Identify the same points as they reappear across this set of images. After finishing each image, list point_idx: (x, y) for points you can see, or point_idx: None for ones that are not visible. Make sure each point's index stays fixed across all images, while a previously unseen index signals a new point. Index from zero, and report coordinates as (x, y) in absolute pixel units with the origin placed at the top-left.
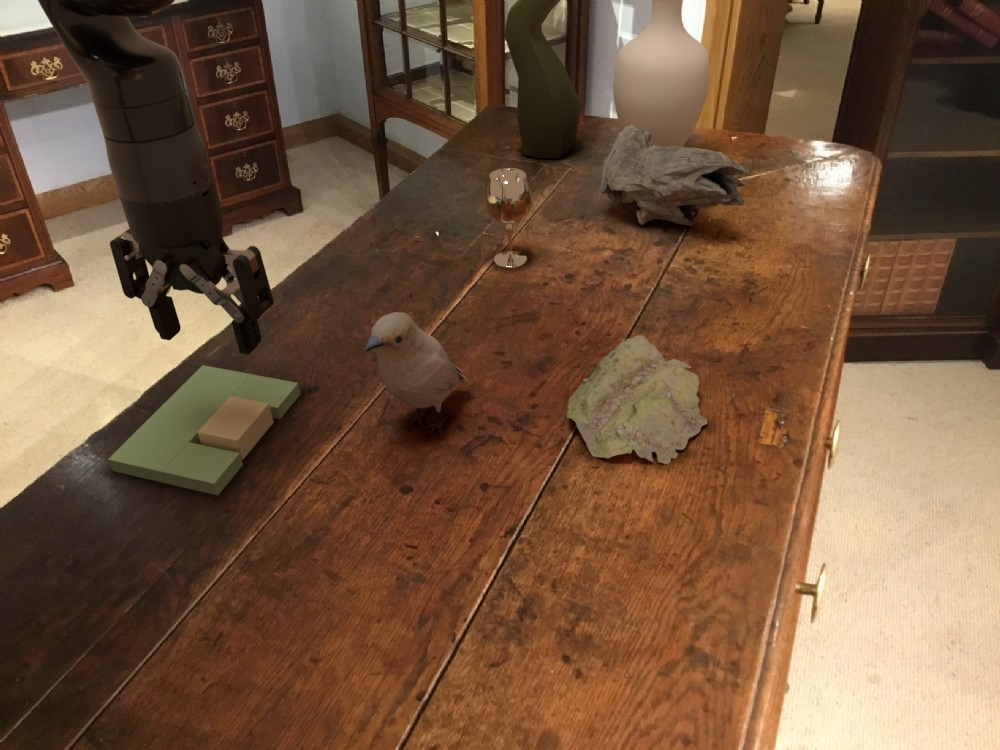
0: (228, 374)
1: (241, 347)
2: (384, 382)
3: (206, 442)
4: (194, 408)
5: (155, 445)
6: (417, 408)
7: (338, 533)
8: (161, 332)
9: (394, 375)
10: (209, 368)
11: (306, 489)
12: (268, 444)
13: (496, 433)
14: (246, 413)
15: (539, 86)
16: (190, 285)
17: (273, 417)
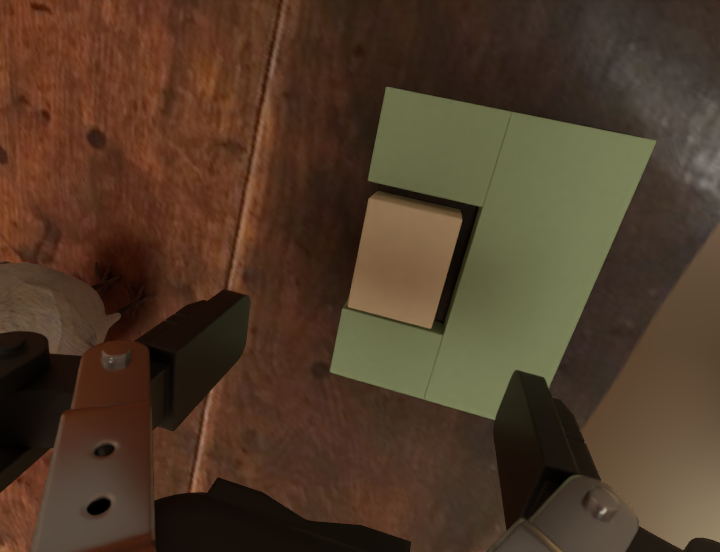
0: (467, 401)
1: (224, 301)
2: (9, 266)
3: (446, 210)
4: (504, 306)
5: (553, 192)
6: (124, 307)
7: (152, 20)
8: (537, 389)
9: None
10: None
11: (242, 124)
12: (347, 234)
13: None
14: (379, 277)
15: None
16: (255, 539)
17: None
